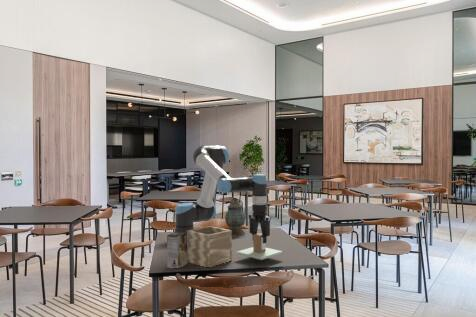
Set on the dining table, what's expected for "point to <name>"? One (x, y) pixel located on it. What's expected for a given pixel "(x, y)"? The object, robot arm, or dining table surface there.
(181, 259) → the coffee box
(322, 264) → the dining table surface
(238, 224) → the dark green urn
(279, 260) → the dining table surface
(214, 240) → the box
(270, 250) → the lid
